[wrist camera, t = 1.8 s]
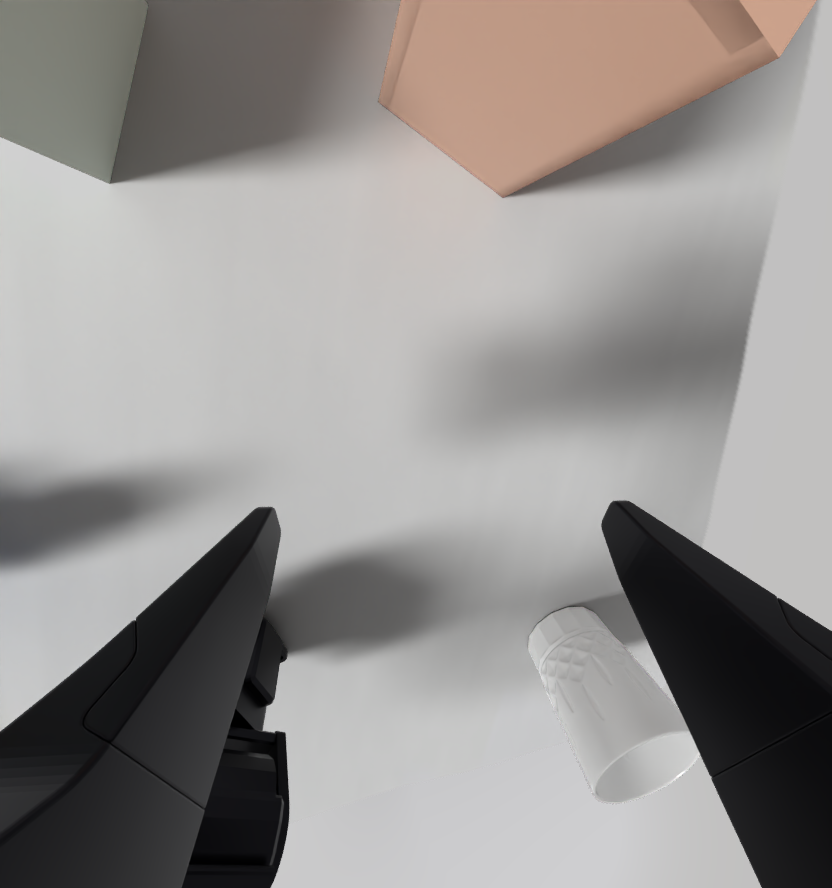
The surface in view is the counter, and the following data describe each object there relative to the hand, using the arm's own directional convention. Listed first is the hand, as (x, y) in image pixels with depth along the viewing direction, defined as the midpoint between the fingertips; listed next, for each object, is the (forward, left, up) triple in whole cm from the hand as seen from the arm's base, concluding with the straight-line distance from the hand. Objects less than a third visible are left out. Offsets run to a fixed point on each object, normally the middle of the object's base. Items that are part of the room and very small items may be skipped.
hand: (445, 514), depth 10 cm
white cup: (+8, -26, -12) cm, 30 cm away
